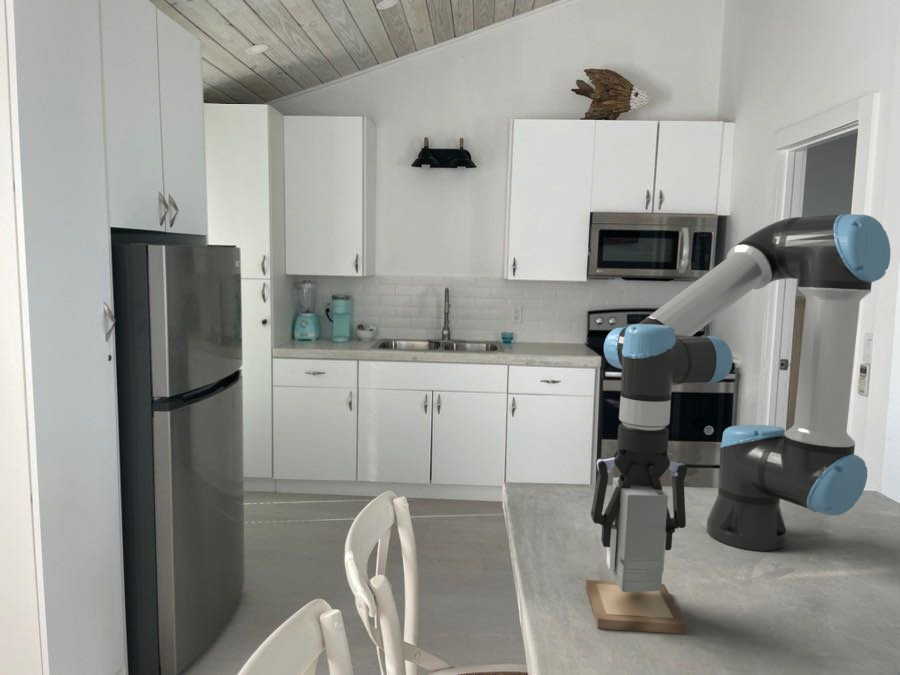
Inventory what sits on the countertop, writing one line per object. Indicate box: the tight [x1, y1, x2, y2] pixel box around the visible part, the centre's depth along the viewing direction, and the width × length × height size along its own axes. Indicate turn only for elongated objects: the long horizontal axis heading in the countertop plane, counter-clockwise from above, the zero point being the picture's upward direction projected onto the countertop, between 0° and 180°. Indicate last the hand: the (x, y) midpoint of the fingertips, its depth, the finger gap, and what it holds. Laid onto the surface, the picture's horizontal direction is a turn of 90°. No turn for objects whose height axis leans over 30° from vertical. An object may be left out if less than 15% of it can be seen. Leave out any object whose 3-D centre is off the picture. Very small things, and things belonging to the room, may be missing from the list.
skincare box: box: [606, 476, 669, 592], centre depth 107 cm, size 8×7×16 cm
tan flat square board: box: [585, 579, 687, 635], centre depth 108 cm, size 13×13×2 cm
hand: (634, 567), depth 108 cm, fingers closed on skincare box, 7 cm apart
